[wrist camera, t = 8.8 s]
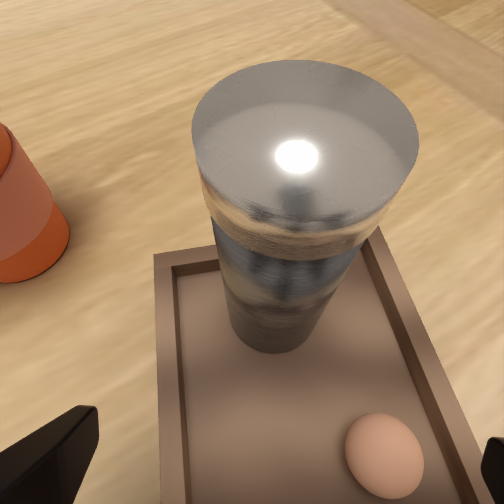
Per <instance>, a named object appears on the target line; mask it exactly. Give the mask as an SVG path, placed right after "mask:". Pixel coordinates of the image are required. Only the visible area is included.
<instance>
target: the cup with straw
mask: <svg viewBox="0 0 504 504" xmlns="http://www.w3.org/2000/svg"><path fill="white" fill-rule="evenodd" d="M68 240H69V227H68V223H67V221H66V219H65V218H64V216H63V215H62V213H61V211H60V210H59V208H58V207H57V205H56V204H55V203H54V201H53V200H52V195H51V192H50V190H49V188H48V187H47V185H46V184H45V182H44V181H43V179H42V177H41V176H40V174H39V173H38V171H37V170H36V168H35V167H34V165H33V164H32V162H31V161H30V159H29V158H28V156H27V155H26V153H25V152H24V150H23V149H22V147H21V146H20V144H19V143H18V141H17V140H16V138H15V137H14V135H13V134H12V132H11V131H10V130H9V129H8V128H7V127H6V126H5V125H3V124H2V123H0V282H4V283H12V282H19V281H24V280H27V279H30V278H32V277H34V276H36V275H38V274H40V273H42V272H43V271H45V270H46V269H48V268H49V267H50V266H52V265H53V264H54V263H55V262H56V261H57V260H58V258H59V257H60V256H61V255H62V253H63V252H64V250H65V248H66V246H67V243H68Z"/></svg>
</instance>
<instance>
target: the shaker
mask: <svg viewBox="0 0 504 504" xmlns="http://www.w3.org/2000/svg"><path fill="white" fill-rule="evenodd" d="M192 139H193V145H194V150H195V155H196V160H197V165H198V170H199V176H200V181H201V186H202V191H203V196H204V200H205V203H206V206H207V208H208V210H209V212H210V214H211V220H212V225H213V231H214V236H215V242H216V247H217V253H218V258H219V264H220V269H221V275H222V280H223V286H224V291H225V297H226V302H227V308H228V313H229V319H230V322H231V325H232V328H233V330H234V332H235V333H236V335H237V336H238V337H239V338H240V340H241V341H243V342H244V343H245V344H246V345H247V346H249V347H250V348H252V349H254V350H257V351H259V352H263V353H268V354H280V353H286V352H289V351H291V350H293V349H295V348H297V347H299V346H300V345H301V344H303V343H304V342H305V341H306V340H307V338H308V337H309V336H310V334H311V333H312V331H313V329H314V327H315V326H316V324H317V322H318V321H319V319H320V317H321V315H322V314H323V312H324V310H325V308H326V307H327V305H328V303H329V302H330V300H331V298H332V296H333V295H334V293H335V291H336V289H337V288H338V286H339V284H340V283H341V281H342V279H343V277H344V276H345V274H346V272H347V271H348V269H349V267H350V265H351V264H352V262H353V260H354V258H355V257H356V255H357V253H358V252H359V250H360V248H361V246H362V245H363V243H364V241H365V240H366V238H368V237H369V236H370V235H371V234H372V232H373V231H374V230H375V229H376V228H377V226H378V224H379V223H380V221H381V220H382V218H383V216H384V215H385V213H386V211H387V210H388V208H389V206H390V205H391V203H392V201H393V200H394V198H395V196H396V195H397V193H398V191H399V190H400V188H401V186H402V185H403V183H404V181H405V180H406V178H407V176H408V175H409V173H410V171H411V170H412V168H413V166H414V164H415V161H416V158H417V156H418V149H419V135H418V131H417V127H416V124H415V122H414V119H413V117H412V115H411V113H410V112H409V110H408V109H407V107H406V106H405V105H404V104H403V103H402V101H401V100H400V99H399V98H398V97H397V96H396V95H395V94H394V93H392V92H391V91H390V90H389V89H388V88H386V87H385V86H383V85H382V84H381V83H379V82H377V81H375V80H374V79H372V78H370V77H368V76H366V75H364V74H362V73H360V72H357V71H354V70H352V69H349V68H346V67H342V66H339V65H335V64H330V63H325V62H318V61H310V60H282V61H273V62H267V63H262V64H258V65H254V66H250V67H248V68H245V69H242V70H239V71H237V72H235V73H233V74H231V75H229V76H227V77H226V78H224V79H223V80H221V81H219V82H218V83H217V84H216V85H214V86H213V87H212V88H211V89H210V90H209V91H208V92H207V93H206V94H205V95H204V97H203V98H202V100H201V101H200V102H199V104H198V106H197V108H196V110H195V113H194V117H193V120H192Z"/></svg>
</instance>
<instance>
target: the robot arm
mask: <svg viewBox="0 0 504 504" xmlns="http://www.w3.org/2000/svg"><path fill="white" fill-rule="evenodd" d="M98 441H99V424H98V411H97V408H96V407H95V406H87V405H78V406H75V407H74V408H72V409H70V410H69V411H67V412H65V413H64V414H62V415H61V416H59V417H57V418H56V419H54V420H52V421H51V422H49V423H47V424H46V425H44V426H43V427H41V428H39V429H38V430H36V431H34V432H33V433H31V434H29V435H28V436H26V437H25V438H23V439H21V440H20V441H18V442H16V443H15V444H13V445H11V446H10V447H8V448H7V449H5V450H3V451H2V452H0V504H73V502H74V500H75V497H76V495H77V493H78V490H79V488H80V485H81V483H82V481H83V478H84V476H85V474H86V471H87V469H88V467H89V464H90V462H91V459H92V457H93V455H94V452H95V450H96V448H97V445H98ZM480 469H481V474H482V477H483V480H484V482H485V484H486V486H487V488H488V490H489V492H490V494H491V496H492V498H493V501H494V503H495V504H504V438H502V437H491V438H490V439H489V440H488V442H487V445H486V448H485V451H484V455H483V458H482V461H481V465H480Z"/></svg>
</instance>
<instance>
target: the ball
mask: <svg viewBox="0 0 504 504" xmlns="http://www.w3.org/2000/svg"><path fill="white" fill-rule="evenodd" d="M345 455H346V460H347V463H348V466H349V468H350V470H351V472H352V474H353V476H354V477H355V478H356V480H357V481H358V482H359V483H360V484H361V485H362V486H363V487H364V488H365V489H366V490H367V491H369V492H370V493H372V494H374V495H376V496H378V497H381V498H385V499H400V498H403V497H406V496H408V495H409V494H411V493H412V492H413V491H414V490H415V489H416V488H417V487H418V485H419V483H420V481H421V479H422V476H423V471H424V458H423V453H422V450H421V447H420V444H419V442H418V440H417V438H416V437H415V435H414V434H413V432H412V431H411V430H410V429H409V428H408V427H407V426H406V425H405V424H404V423H403V422H401V421H400V420H399V419H397V418H395V417H393V416H391V415H388V414H384V413H369V414H366V415H363V416H361V417H359V418H358V419H357V420H356V421H355V422H354V423H353V424H352V425H351V427H350V428H349V430H348V432H347V436H346V439H345Z"/></svg>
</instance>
